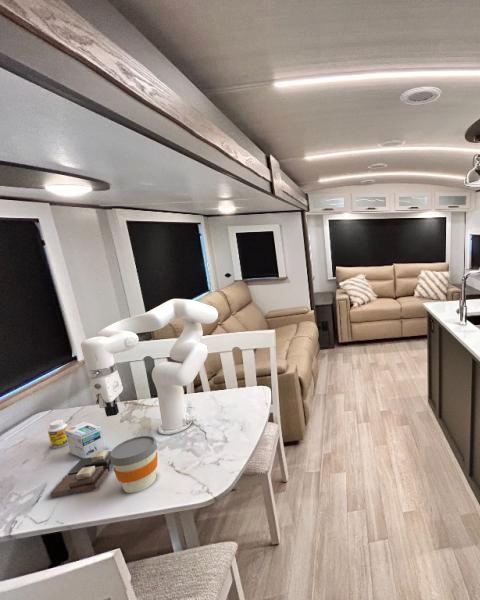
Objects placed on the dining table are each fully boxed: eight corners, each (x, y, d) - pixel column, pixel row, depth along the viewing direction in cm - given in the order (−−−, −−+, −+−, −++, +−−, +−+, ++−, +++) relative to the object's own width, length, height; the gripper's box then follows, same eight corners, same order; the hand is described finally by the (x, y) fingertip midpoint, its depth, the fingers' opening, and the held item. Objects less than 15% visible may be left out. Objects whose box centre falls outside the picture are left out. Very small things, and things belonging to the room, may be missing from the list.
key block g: (108, 473, 117) (106, 464, 116) (96, 489, 109) (94, 479, 109) (66, 481, 113) (64, 471, 112) (51, 498, 105) (49, 488, 105)
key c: (109, 454, 122) (108, 449, 121) (104, 460, 118) (103, 455, 118) (97, 456, 120) (96, 451, 120) (92, 462, 117) (91, 457, 117)
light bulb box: (106, 449, 129) (101, 426, 127) (85, 460, 123) (80, 435, 121) (89, 443, 133) (85, 420, 130) (69, 453, 126) (63, 429, 124)
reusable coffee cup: (152, 492, 109) (146, 455, 105) (108, 500, 105) (100, 462, 102) (167, 467, 120) (162, 432, 117) (128, 473, 117) (121, 438, 114)
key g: (95, 470, 113) (94, 465, 113) (90, 477, 110) (89, 472, 109) (83, 472, 112) (82, 467, 112) (77, 480, 109) (75, 475, 108)
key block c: (120, 457, 125) (118, 448, 124) (109, 471, 118) (108, 462, 117) (82, 463, 121) (80, 454, 120) (68, 478, 114) (66, 469, 113)
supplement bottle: (49, 450, 128) (44, 427, 126) (54, 442, 133) (49, 420, 130) (68, 445, 131) (63, 423, 129) (72, 438, 136) (67, 417, 133)
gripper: (104, 378, 108) (115, 424, 113) (124, 360, 122) (133, 402, 126) (76, 381, 106) (88, 428, 110) (100, 363, 119) (110, 405, 124)
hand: (112, 414), depth 118 cm, fingers closed
